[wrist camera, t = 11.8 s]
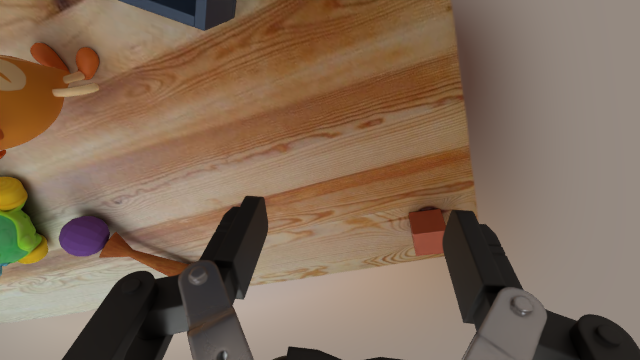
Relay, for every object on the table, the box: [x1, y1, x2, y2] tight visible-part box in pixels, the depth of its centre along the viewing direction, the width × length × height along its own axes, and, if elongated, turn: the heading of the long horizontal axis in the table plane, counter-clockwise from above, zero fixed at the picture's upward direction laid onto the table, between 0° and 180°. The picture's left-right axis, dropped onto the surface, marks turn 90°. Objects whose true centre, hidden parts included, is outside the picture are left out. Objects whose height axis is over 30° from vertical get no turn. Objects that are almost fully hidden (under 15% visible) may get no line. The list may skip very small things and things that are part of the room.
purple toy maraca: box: [59, 216, 189, 276], centre depth 48 cm, size 6×6×20 cm
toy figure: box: [0, 43, 99, 159], centre depth 27 cm, size 12×8×15 cm, turn 86°
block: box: [409, 209, 446, 256], centre depth 39 cm, size 4×4×4 cm
